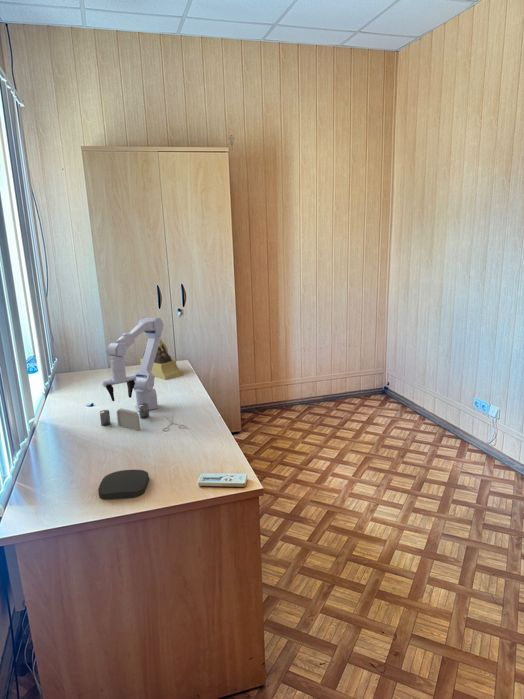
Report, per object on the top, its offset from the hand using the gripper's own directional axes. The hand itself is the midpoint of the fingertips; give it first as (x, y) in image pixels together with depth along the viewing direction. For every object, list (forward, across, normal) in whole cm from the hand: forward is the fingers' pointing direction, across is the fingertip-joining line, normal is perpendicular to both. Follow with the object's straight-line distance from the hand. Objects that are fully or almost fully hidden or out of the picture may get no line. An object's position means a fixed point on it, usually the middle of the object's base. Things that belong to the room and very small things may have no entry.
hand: (121, 398), depth 211 cm
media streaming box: (+10, +18, +61) cm, 65 cm away
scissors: (+10, -16, +19) cm, 27 cm away
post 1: (+9, +8, +2) cm, 13 cm away
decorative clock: (+10, -41, -61) cm, 74 cm away
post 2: (+9, -8, +4) cm, 13 cm away
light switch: (+10, +1, +12) cm, 16 cm away
